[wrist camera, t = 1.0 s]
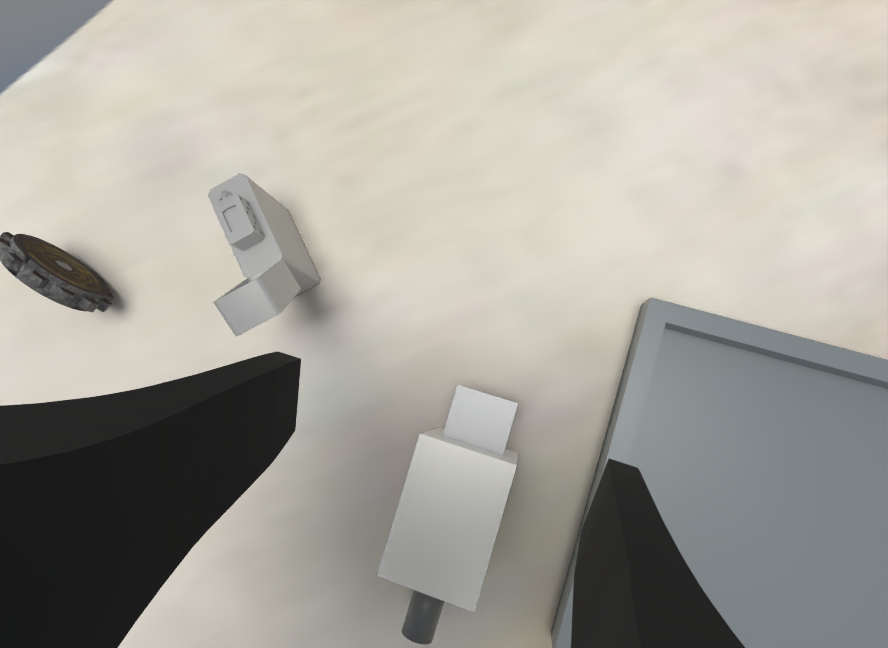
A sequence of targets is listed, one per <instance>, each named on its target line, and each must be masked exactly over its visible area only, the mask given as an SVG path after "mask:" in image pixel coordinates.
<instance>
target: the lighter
mask: <svg viewBox="0 0 888 648" xmlns="http://www.w3.org/2000/svg"><path fill="white" fill-rule="evenodd" d="M208 196H209V198H210V201H211V203H212V205H213V209H214V211H215V213H216V215H217V218H218V220H219V222H220V224H221V227H222V229H223V231H224V233H225V236H226V238H227V240H228V242H229V244H230V246H231V248H232V250H233V253H234V255H235V257H236V259H237V262H238V264H239V266H240V268H241V271H242V273H243V275H244V276H245V277H247V279H246V280H244V281H243V282H241V283H240V284H238V285H237V286H235V287H234V288H233V289H231V290H230V291H228V292H227V293H225V294H224V295H223V296H221V297H220V298H218V299H217V300H215V301H214V302H213V303H214V304H215V306H216V307H217V309H218V310H219V312H220V313H221V315H222V316H223V318H224V319H225V321H226V322H227V324H228V325H229V327H230V328H231V330H232V331H233V333H234V334H235V336H239V335H241V334H242V333H244V332H246V331H248V330H250V329H252V328H254V327H256V326H257V325H259V324H261V323H263V322H265V321H267V320H269V319H270V318H272V317H274V316H276V315H278V314H279V313H281V312H282V311H283V309H284V308H285V307H286V306H287V305H288V304H289V302H290V301H291V300H292V299H293V298H294V297H295V296H297V295H299V294H301V293H302V292H304V291H306V290H308V289H310V288H312V287H314V286H316V285H317V284H319V282H320V279H321V278H320V276H319V274H318V272H317V270H316V268H315V266H314V264H313V261H312V259H311V257H310V255H309V253H308V251H307V249H306V247H305V245H304V242H303V240H302V238H301V236H300V234H299V232H298V230H297V228H296V225H295V223H294V221H293V219H292V217H291V215H290V213H289V211H288V210H287V209H286V208H285V207H284V206H283V205H281V204H280V203H279V202H278V201H276V200H275V199H274V198H273V197H272V196H270V195H269V194H268V193H267V192H265V191H264V190H263V189H262V188H261V187H259V186H258V185H257V184H256V183H255V182H253V181H252V180H251V179H250V178H248V177H247V176H246V175H244V174H238V175H236V176H234V177H232V178H231V179H229V180H227V181H225V182H223V183H222V184H220V185H218V186H216V187H214V188H213V189H211V190H210V192H209V194H208Z"/></svg>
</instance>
